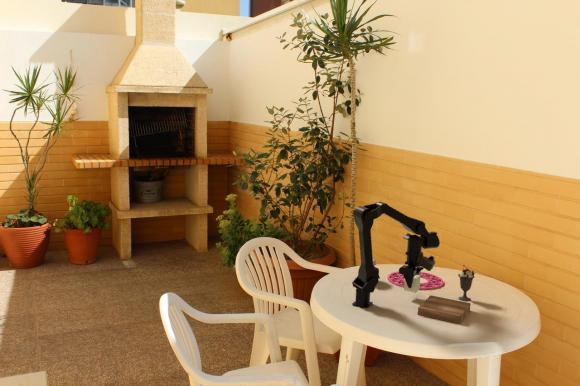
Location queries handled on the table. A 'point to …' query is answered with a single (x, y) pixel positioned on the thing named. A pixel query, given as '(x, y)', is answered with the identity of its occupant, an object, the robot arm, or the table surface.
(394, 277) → the trivet
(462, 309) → the walnut base
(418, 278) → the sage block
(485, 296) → the table surface
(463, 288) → the sundae
